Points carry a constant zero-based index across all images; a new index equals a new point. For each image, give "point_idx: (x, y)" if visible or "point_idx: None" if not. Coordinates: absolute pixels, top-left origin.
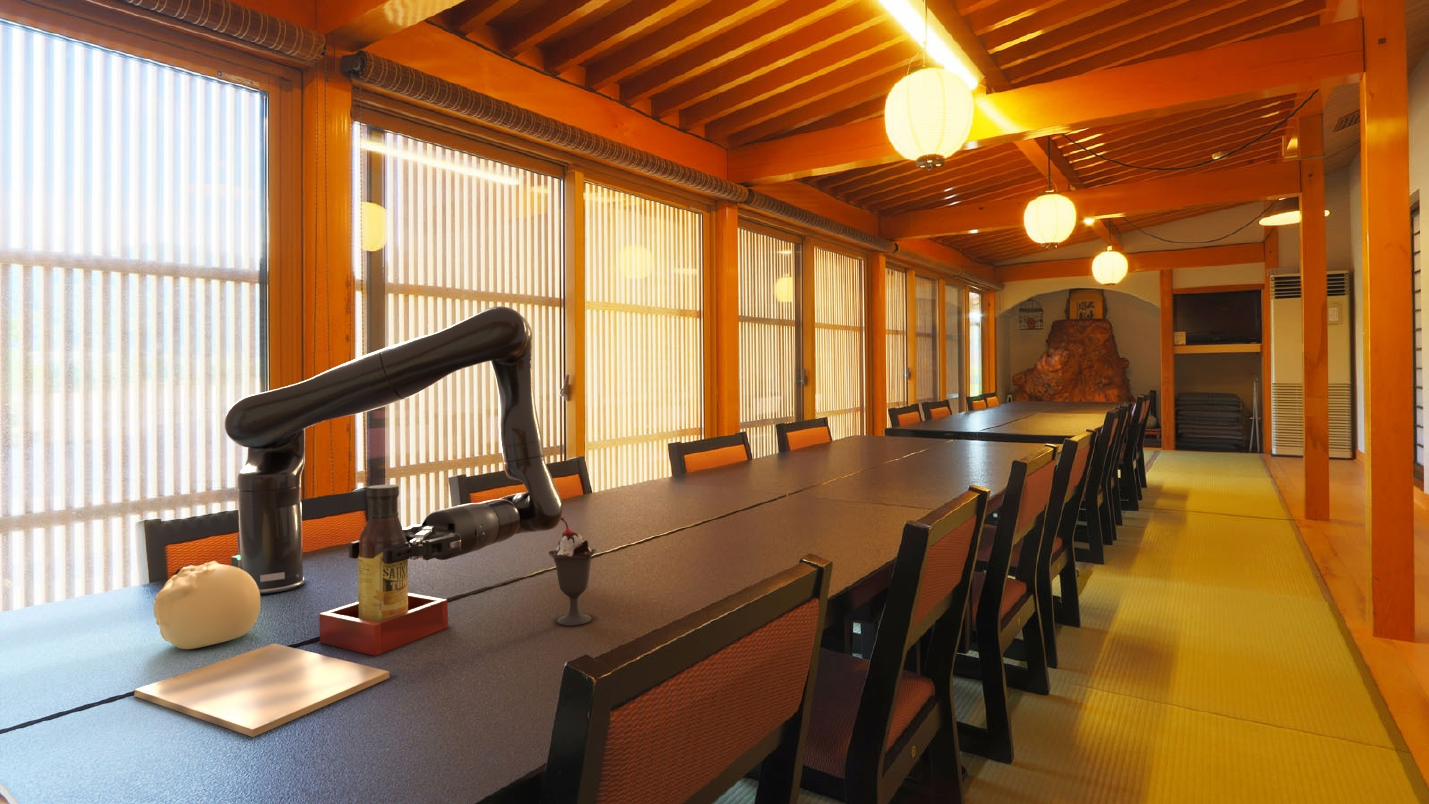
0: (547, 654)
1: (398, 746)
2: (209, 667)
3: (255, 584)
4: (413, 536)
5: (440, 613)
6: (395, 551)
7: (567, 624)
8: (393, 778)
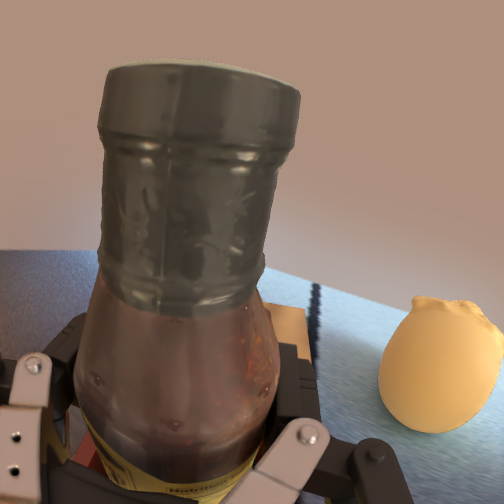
0: None
1: (23, 273)
2: (299, 345)
3: (442, 378)
4: (91, 482)
5: None
6: (78, 318)
7: None
8: (20, 256)
